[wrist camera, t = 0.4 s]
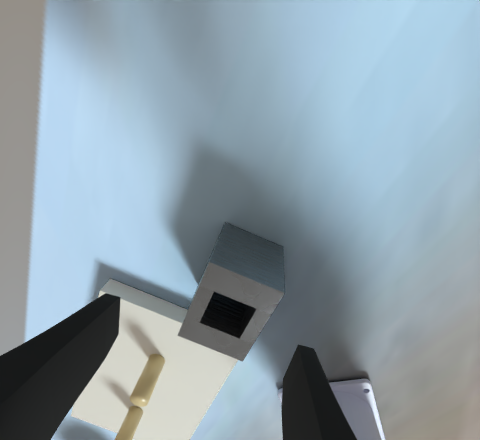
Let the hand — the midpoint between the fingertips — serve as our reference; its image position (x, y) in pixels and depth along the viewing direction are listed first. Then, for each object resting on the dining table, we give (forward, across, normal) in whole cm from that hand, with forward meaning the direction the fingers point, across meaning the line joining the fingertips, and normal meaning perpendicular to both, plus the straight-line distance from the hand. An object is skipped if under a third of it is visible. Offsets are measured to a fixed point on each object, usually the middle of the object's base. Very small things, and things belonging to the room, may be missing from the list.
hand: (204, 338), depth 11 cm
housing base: (+10, +5, +17) cm, 20 cm away
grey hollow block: (+9, -1, +3) cm, 10 cm away
